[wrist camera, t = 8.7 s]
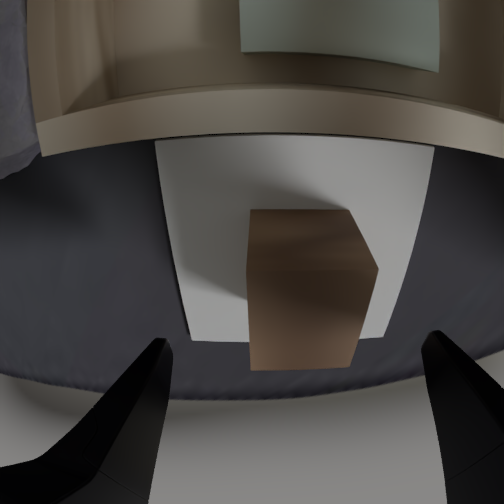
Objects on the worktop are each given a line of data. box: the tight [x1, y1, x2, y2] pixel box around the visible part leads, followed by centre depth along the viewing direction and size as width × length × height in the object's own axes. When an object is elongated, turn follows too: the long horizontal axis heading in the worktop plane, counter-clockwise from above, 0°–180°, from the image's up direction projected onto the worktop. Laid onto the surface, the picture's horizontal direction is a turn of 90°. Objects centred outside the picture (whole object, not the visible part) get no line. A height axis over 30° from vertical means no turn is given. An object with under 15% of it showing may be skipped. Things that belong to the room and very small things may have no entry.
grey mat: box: [155, 134, 434, 342], centre depth 14 cm, size 11×11×1 cm
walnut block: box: [246, 209, 379, 370], centre depth 12 cm, size 4×5×4 cm
